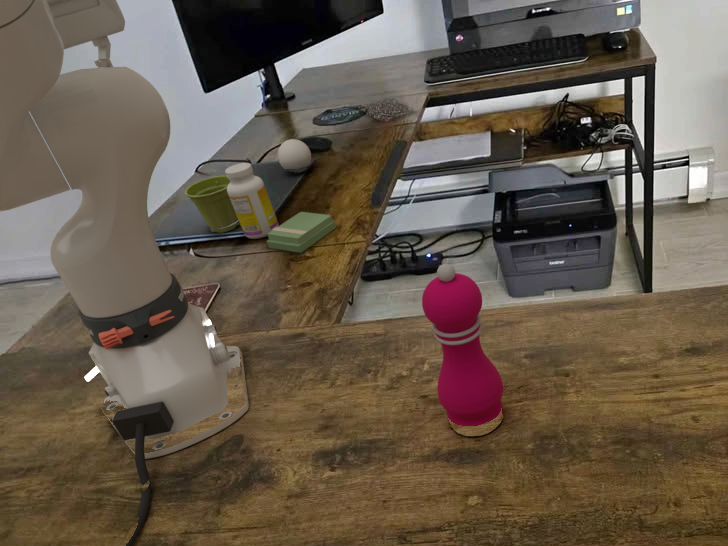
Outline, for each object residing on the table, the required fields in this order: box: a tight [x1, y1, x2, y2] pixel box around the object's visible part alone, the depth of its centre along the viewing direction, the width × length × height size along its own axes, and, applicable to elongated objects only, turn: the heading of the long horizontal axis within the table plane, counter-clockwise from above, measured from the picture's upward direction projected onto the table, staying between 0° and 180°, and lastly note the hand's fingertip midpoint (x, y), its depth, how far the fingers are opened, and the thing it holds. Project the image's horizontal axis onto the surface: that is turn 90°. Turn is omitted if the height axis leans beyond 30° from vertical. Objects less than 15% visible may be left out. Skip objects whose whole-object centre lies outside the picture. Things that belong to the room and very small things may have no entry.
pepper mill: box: [421, 263, 504, 426], centre depth 70 cm, size 7×7×20 cm
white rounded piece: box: [277, 138, 312, 174], centre depth 151 cm, size 10×7×7 cm
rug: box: [357, 97, 415, 122], centre depth 181 cm, size 10×20×1 cm, turn 28°
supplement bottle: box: [224, 162, 280, 240], centre depth 125 cm, size 7×7×13 cm
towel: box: [266, 211, 337, 254], centre depth 123 cm, size 10×8×3 cm
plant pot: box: [184, 174, 241, 234], centre depth 131 cm, size 9×9×9 cm
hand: (80, 81), depth 99 cm, fingers open, 8 cm apart
